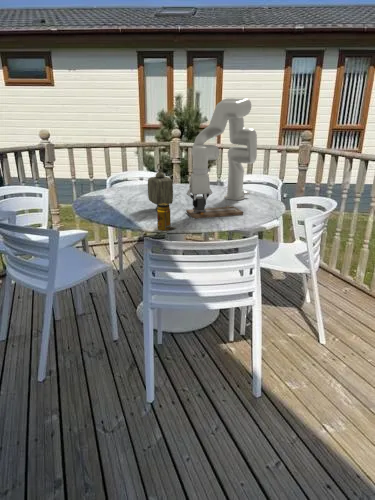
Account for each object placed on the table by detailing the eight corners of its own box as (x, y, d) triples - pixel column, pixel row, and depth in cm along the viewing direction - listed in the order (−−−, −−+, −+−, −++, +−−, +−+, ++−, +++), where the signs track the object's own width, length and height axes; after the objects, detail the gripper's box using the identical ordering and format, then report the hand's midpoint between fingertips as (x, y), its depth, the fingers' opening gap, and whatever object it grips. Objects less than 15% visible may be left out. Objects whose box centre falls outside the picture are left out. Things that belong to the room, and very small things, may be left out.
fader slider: (201, 209, 192) (202, 195, 189) (205, 212, 186) (206, 198, 184) (192, 209, 190) (193, 196, 187) (196, 212, 185) (196, 199, 182)
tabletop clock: (173, 211, 194) (172, 165, 185) (157, 213, 190) (156, 166, 181) (162, 205, 206) (161, 161, 197) (147, 207, 202) (146, 162, 193)
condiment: (153, 229, 165) (152, 204, 161) (166, 225, 171) (165, 200, 167) (165, 232, 161) (164, 206, 157) (177, 228, 167) (177, 203, 163)
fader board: (233, 208, 201) (233, 204, 200) (243, 214, 190) (243, 210, 190) (186, 212, 193) (186, 208, 192) (193, 218, 182) (193, 214, 181)
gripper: (212, 169, 186) (211, 204, 193) (182, 171, 182) (181, 206, 188) (218, 172, 180) (216, 207, 187) (186, 173, 175) (186, 209, 182)
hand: (199, 206), depth 187 cm, fingers closed on fader slider, 4 cm apart
